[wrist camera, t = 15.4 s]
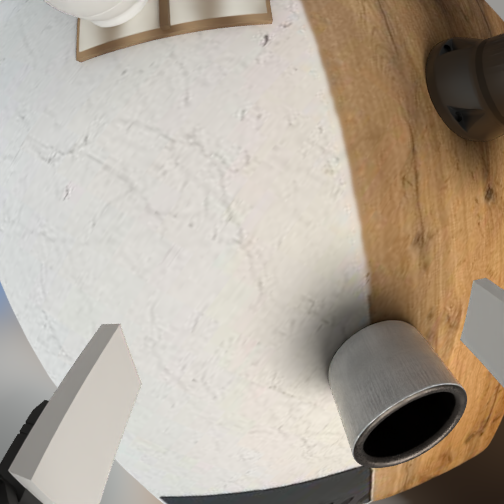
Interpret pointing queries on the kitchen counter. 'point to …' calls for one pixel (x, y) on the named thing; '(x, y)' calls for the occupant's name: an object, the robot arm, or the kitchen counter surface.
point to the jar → (100, 10)
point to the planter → (393, 394)
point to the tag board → (169, 23)
